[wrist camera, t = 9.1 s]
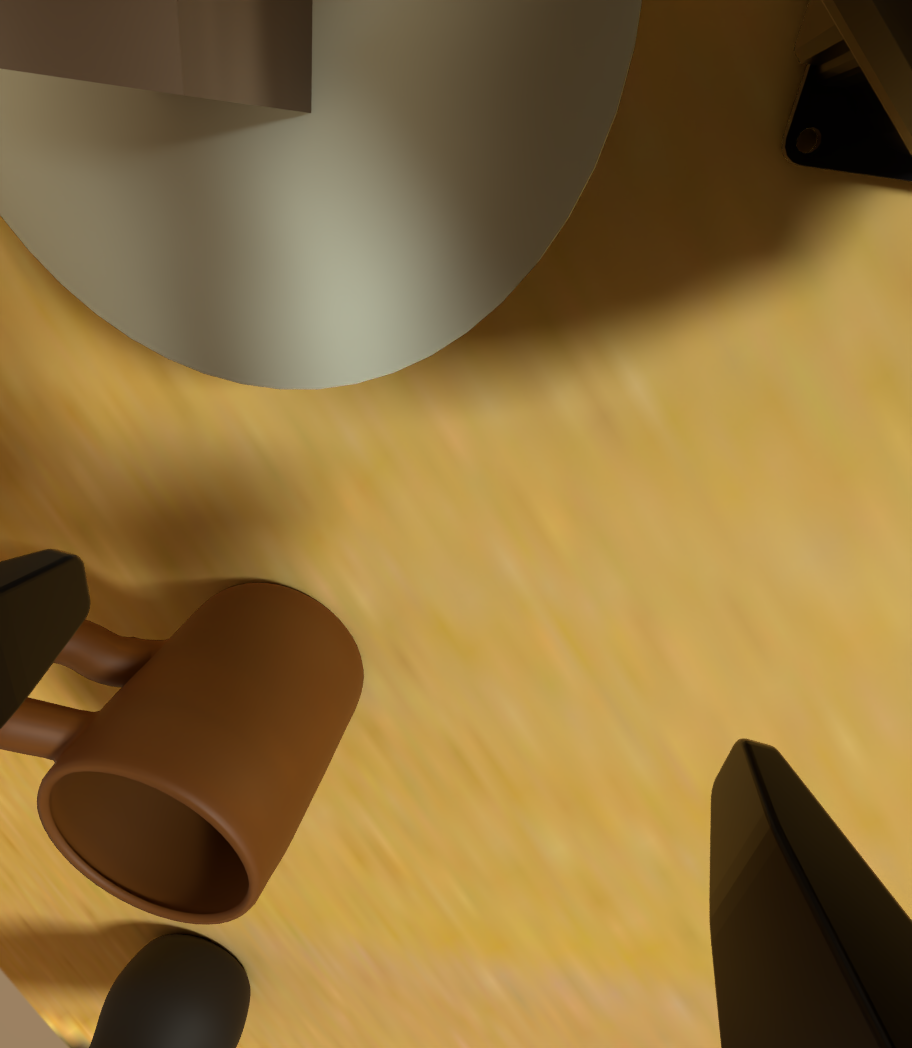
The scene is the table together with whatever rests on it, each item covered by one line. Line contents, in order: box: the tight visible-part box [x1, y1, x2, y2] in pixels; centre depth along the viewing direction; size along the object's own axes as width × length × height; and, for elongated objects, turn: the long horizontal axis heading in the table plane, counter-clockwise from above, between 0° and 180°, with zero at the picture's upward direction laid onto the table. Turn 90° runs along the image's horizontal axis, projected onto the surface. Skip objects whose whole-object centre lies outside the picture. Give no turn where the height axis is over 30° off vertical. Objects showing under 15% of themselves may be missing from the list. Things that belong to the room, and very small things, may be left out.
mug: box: [0, 583, 364, 924], centre depth 23 cm, size 12×8×9 cm, turn 54°
